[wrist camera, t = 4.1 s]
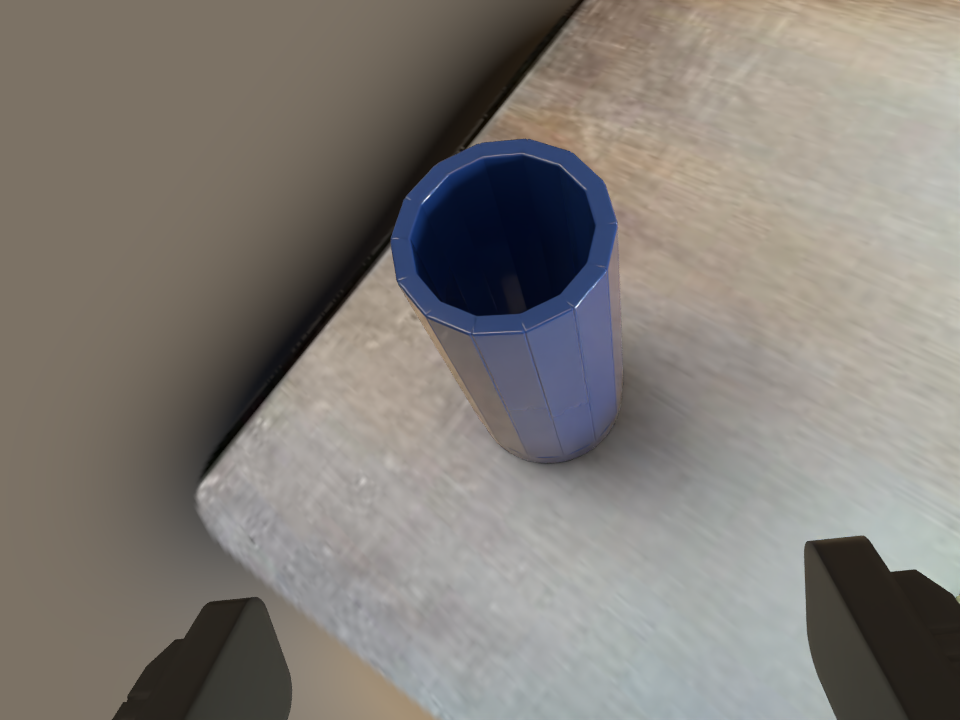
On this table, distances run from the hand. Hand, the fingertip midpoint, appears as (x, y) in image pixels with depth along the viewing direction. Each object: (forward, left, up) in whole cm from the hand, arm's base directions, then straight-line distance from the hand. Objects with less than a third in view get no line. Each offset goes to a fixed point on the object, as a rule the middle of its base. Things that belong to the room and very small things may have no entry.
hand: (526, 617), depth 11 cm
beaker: (+4, +7, -12) cm, 14 cm away
